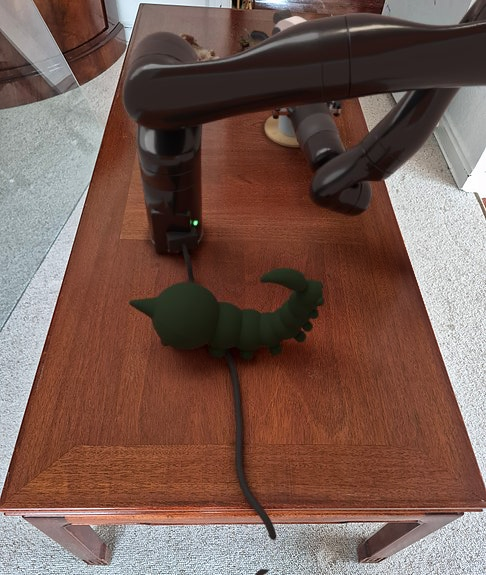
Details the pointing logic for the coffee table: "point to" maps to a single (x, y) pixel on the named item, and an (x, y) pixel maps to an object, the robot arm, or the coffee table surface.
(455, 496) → the coffee table surface
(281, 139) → the coaster
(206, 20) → the coffee table surface
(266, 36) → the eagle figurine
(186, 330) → the toy figurine
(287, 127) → the bottle
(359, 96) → the robot arm
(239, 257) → the coffee table surface
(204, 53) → the mineral formation
